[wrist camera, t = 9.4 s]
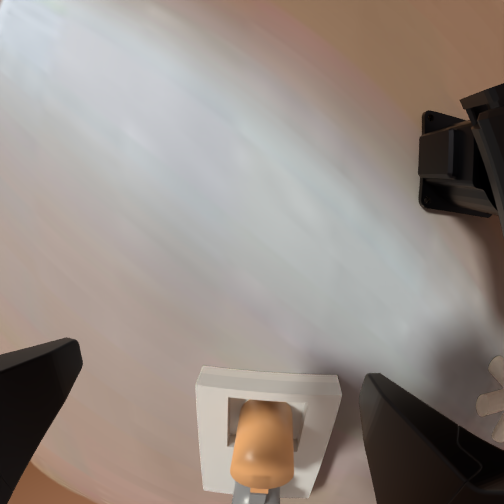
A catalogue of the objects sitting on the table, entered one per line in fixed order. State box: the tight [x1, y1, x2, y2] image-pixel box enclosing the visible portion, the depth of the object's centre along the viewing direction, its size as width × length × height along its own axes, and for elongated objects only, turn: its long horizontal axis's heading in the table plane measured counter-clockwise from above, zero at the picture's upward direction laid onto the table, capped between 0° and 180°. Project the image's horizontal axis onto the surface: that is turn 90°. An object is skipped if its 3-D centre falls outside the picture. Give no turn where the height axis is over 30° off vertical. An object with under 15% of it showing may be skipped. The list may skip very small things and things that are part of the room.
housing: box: [195, 365, 342, 504], centre depth 20 cm, size 10×14×6 cm
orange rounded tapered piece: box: [230, 399, 294, 494], centre depth 19 cm, size 4×5×6 cm
